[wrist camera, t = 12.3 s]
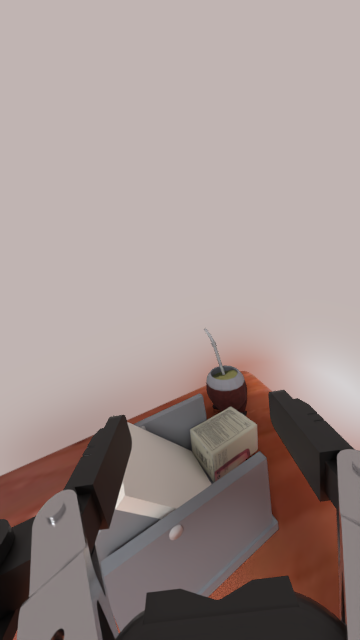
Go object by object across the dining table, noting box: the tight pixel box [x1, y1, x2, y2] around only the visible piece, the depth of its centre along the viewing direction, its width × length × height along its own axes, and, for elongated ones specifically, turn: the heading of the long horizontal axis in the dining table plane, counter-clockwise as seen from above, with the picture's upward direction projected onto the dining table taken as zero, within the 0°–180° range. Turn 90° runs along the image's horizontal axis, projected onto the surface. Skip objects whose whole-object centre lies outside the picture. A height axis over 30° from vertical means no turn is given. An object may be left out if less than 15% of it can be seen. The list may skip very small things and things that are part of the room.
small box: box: [190, 407, 258, 482], centre depth 25 cm, size 5×4×8 cm
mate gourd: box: [204, 329, 247, 416], centre depth 33 cm, size 8×8×15 cm
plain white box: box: [95, 422, 212, 562], centre depth 19 cm, size 13×9×6 cm
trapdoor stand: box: [101, 394, 279, 632], centre depth 20 cm, size 15×12×9 cm
